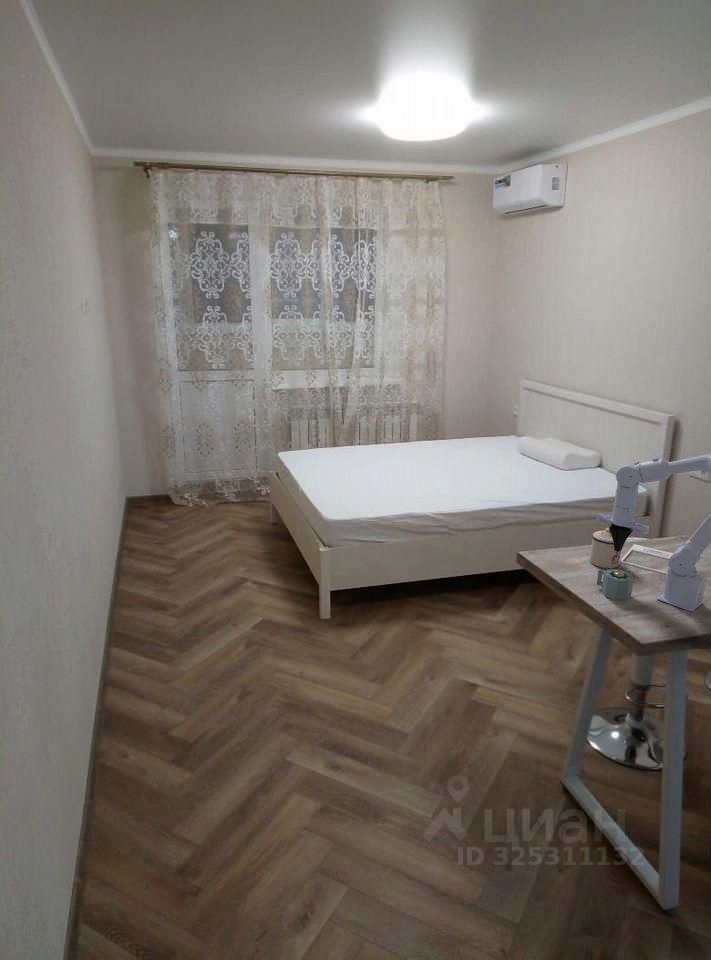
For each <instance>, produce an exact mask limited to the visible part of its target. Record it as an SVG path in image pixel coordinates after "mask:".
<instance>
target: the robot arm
mask: <svg viewBox="0 0 711 960" xmlns="http://www.w3.org/2000/svg"><path fill="white" fill-rule="evenodd" d="M696 471H697V472H699V471H704V472H706V473H708V474H709V475H711V453H707V454H702V455H697V456H692V457H688V458H683V459H679V460H673V461H668V460H667V459H665V458H659V456H658V457H653V458H652V459H651V460H648V461H642V462H640V461H634V462H631V463H626V464H624V465H623V466H622V467H621V468H619V469H618V470H617V472H616V474H615V479H616V482H617V485H616V490H615V496H614V502H613V507H612V508H613V509H612V514H607V513H606V514H605V513H602V512H599V513H597V514H596V519H595V520H596V521H597V522H603V523H607V524H610V526H608V528H609V531H610V533H611V535H612V538H613V543H614V550H615V551H618V552H619V551H621V552H622V550H623V547H624V545H625V543H626V542H627V540H628V538H629V537H630V535H631V534H632V533H633V531H635V532H638V533H641V534H642V535H648V534H649V532H650V531H649V530H650V526H648V525H646V524H643V523H640V522H638V521H636V520H635V514H636V507H637V502H638V496H639V485H640V484H648V483H653V482H658V481H659V482H660V481H667V480H668V479H669V478H670V476H671V475H673V474H680V473H689V472H690V473H691V472H696ZM710 544H711V513H710V514H709V515H708V516H707V518H705V520H704V521H703V522H702V524H700V526H699V527H698V528H697V529H696V530H695V532H694V533H693V534H692V535H691V536H690V537H689V538H688V540H687V541H686V542H684V543H682V544H679V545H678V546H677V547H676V549H675V551H674V552H673V553H674V554H673V555H672V556H671V557H670V558H669V560H668V561H667V564H668V566H667V571H666V572H667V575H666V577H665V582H664V589H663V593H662V594H660V595H658V596H657V598H656V600H658V601H661V602H664V603H667V604H669V605H672V606H675V607H678V608H681V609H684V610H686V611H688V612H694V611H695V610H696V609H697V608H698V607H700V606H701V605H702V604H703V603H704V602H703V600H704V593H705V588H706V585H707V584H706V583H707V581H706V580H707V579H706V578H705V577H703V576H701V575H700V574H698V570H697V568H696V565H697V563H698V562H699V561H700V559H701V556H702V554H703V553H704V551H705V550H706V548H708V547H709V546H710Z"/></svg>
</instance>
